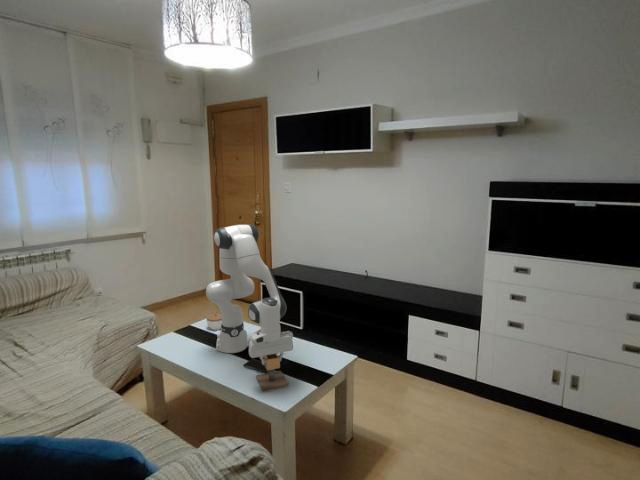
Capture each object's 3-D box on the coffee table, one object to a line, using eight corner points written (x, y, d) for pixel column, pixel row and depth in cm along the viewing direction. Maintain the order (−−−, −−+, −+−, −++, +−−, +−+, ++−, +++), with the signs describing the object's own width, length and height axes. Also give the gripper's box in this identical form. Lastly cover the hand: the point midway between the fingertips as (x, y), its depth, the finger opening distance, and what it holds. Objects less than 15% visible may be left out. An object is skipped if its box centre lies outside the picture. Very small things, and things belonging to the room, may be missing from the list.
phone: (266, 372, 189) (242, 365, 196) (266, 375, 189) (242, 367, 196) (276, 365, 195) (252, 358, 202) (276, 367, 196) (252, 360, 203)
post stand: (256, 378, 185) (255, 359, 183) (280, 373, 190) (280, 355, 188) (262, 391, 174) (262, 372, 172) (288, 386, 179) (288, 366, 177)
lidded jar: (210, 333, 234) (209, 318, 232) (204, 327, 243) (204, 312, 241) (227, 329, 240) (227, 314, 238) (221, 323, 249) (220, 309, 247)
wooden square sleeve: (263, 364, 182) (263, 354, 181) (276, 361, 184) (276, 352, 183) (267, 370, 176) (266, 360, 175) (280, 367, 179) (279, 357, 178)
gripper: (290, 327, 184) (291, 355, 187) (247, 334, 176) (248, 363, 179) (294, 332, 178) (295, 361, 181) (250, 340, 171) (251, 369, 173)
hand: (271, 362), depth 180 cm, fingers closed on wooden square sleeve, 6 cm apart
